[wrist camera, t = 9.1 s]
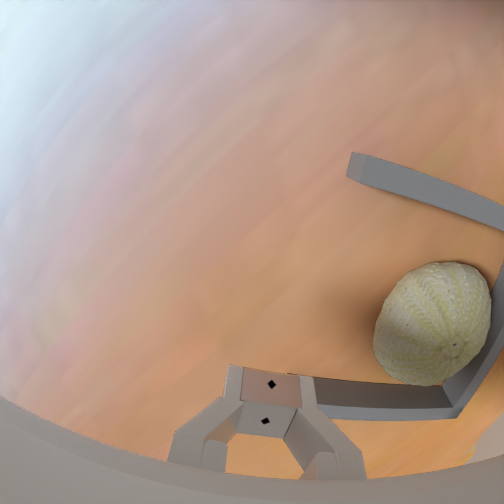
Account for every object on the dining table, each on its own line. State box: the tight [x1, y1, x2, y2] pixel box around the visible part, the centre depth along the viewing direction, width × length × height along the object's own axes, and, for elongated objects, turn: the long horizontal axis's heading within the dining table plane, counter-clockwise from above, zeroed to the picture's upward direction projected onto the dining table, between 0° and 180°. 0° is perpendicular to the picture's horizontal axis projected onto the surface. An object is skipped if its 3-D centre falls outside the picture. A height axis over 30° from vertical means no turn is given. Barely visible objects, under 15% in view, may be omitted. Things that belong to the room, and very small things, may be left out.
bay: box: [287, 152, 504, 421], centre depth 19 cm, size 16×18×3 cm
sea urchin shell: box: [373, 261, 492, 386], centre depth 19 cm, size 9×8×8 cm
